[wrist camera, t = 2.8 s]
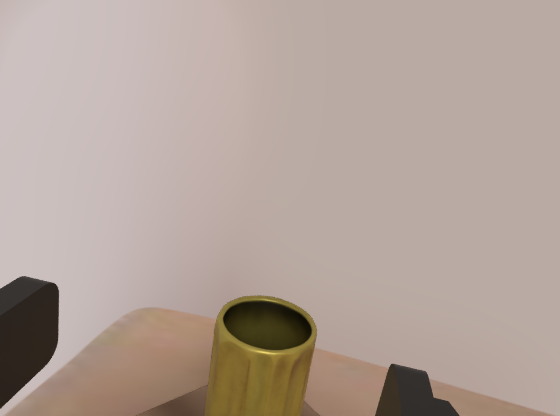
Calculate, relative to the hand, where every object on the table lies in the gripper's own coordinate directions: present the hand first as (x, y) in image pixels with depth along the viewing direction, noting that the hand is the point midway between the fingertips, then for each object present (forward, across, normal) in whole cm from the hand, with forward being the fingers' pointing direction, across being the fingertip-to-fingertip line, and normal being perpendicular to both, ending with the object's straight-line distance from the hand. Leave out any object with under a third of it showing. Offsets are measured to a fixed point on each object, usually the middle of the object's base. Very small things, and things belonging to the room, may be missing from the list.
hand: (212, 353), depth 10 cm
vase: (+12, 0, +20) cm, 23 cm away
